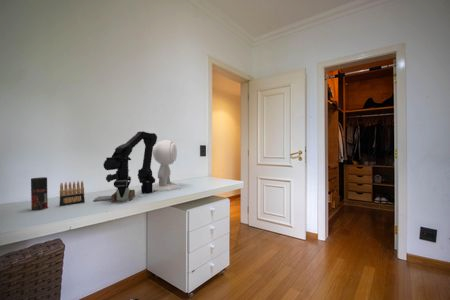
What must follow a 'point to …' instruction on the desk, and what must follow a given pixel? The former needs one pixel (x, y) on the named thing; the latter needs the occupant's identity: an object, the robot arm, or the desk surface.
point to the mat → (102, 198)
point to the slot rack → (131, 195)
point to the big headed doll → (165, 164)
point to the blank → (126, 195)
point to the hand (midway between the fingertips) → (123, 195)
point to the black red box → (39, 193)
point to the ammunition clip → (71, 194)
